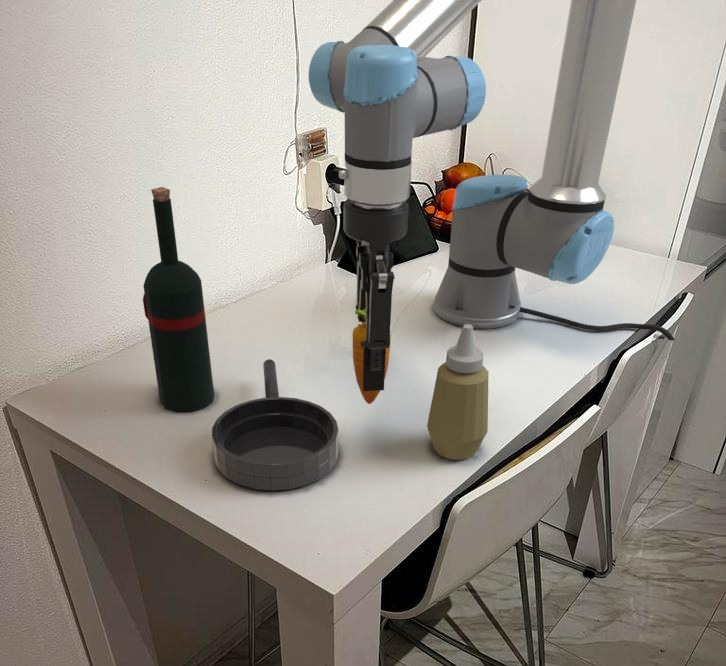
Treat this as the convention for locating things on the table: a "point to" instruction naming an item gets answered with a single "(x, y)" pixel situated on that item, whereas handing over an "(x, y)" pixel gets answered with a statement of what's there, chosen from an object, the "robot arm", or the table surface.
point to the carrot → (358, 352)
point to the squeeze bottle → (460, 401)
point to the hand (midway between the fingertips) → (370, 378)
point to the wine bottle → (177, 321)
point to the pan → (275, 443)
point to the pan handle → (270, 379)
